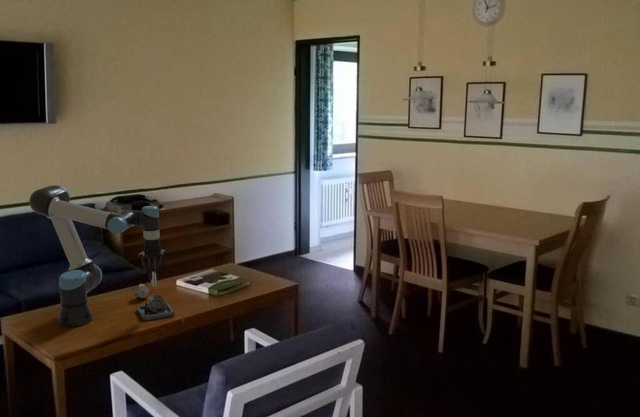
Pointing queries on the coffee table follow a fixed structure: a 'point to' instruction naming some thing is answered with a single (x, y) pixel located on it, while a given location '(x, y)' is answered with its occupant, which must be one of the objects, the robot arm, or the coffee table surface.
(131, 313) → the coffee table surface
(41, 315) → the coffee table surface
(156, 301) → the fossil
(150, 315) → the tray
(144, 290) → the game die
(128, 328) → the coffee table surface
